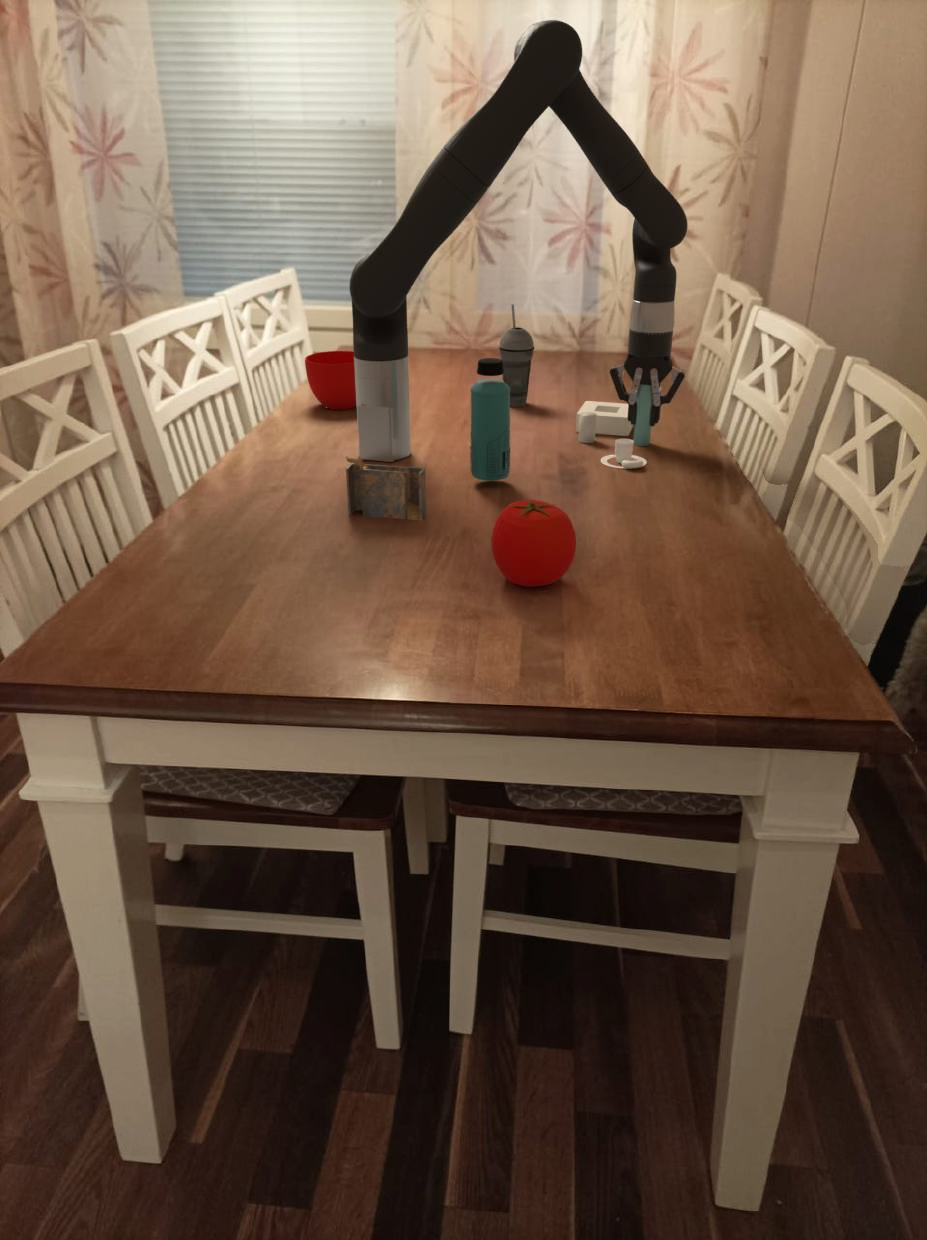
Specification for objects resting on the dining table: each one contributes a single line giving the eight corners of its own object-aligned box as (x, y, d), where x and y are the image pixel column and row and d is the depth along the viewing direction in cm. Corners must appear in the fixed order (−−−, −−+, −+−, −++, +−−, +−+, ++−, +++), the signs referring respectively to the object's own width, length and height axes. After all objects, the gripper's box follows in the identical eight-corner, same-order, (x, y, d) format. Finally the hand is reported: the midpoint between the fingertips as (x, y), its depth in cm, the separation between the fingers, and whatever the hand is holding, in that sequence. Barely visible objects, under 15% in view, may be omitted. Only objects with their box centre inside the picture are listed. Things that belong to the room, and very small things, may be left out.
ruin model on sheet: (347, 518, 144) (344, 456, 140) (353, 511, 147) (350, 450, 142) (421, 524, 142) (419, 460, 138) (426, 516, 145) (424, 454, 140)
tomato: (522, 557, 130) (524, 481, 125) (588, 578, 124) (593, 499, 119) (473, 583, 123) (473, 503, 118) (541, 606, 117) (544, 523, 112)
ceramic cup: (386, 414, 195) (384, 364, 190) (303, 414, 195) (299, 364, 190) (392, 398, 206) (390, 350, 202) (313, 397, 206) (310, 350, 202)
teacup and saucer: (645, 474, 162) (647, 450, 160) (598, 471, 164) (599, 448, 162) (647, 458, 170) (649, 435, 168) (602, 455, 171) (603, 433, 169)
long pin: (648, 446, 174) (654, 385, 169) (632, 445, 175) (636, 384, 170) (650, 441, 177) (655, 382, 172) (634, 440, 178) (639, 381, 173)
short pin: (593, 443, 176) (594, 416, 174) (577, 442, 177) (578, 415, 175) (595, 439, 179) (597, 412, 176) (580, 437, 180) (581, 411, 177)
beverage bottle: (506, 491, 153) (509, 364, 144) (465, 488, 155) (465, 362, 145) (512, 478, 159) (515, 355, 150) (473, 475, 160) (473, 353, 151)
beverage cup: (519, 410, 197) (522, 309, 188) (491, 404, 201) (492, 305, 192) (539, 403, 202) (542, 304, 193) (510, 397, 206) (512, 300, 197)
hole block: (628, 436, 180) (629, 417, 179) (575, 431, 183) (576, 413, 181) (635, 422, 189) (636, 404, 187) (584, 418, 191) (585, 400, 190)
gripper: (607, 328, 165) (601, 427, 173) (690, 332, 162) (680, 433, 170) (614, 321, 172) (607, 416, 180) (694, 325, 168) (684, 422, 176)
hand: (643, 424), depth 174 cm, fingers closed on long pin, 3 cm apart
